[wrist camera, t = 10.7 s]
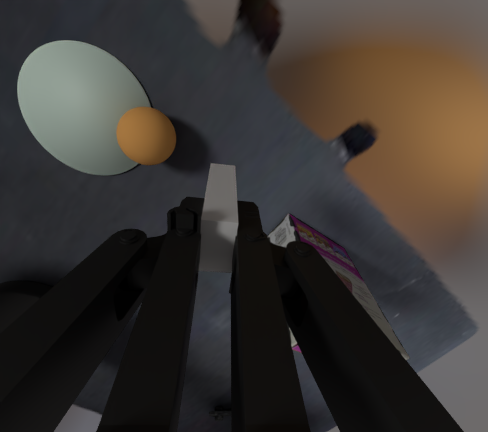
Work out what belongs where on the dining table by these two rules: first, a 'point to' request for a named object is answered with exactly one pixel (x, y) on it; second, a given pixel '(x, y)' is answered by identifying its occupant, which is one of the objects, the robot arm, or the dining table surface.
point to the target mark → (79, 104)
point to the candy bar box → (341, 266)
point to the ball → (146, 135)
